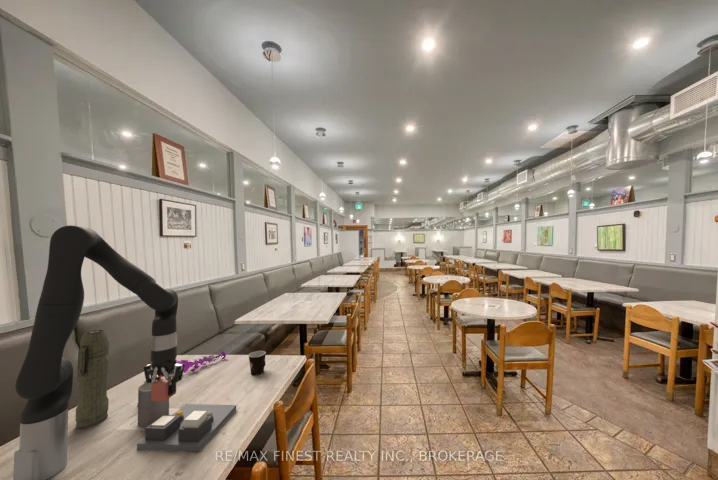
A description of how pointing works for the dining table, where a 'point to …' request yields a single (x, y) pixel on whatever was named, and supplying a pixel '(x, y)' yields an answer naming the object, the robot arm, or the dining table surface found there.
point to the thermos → (92, 379)
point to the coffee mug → (257, 362)
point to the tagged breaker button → (163, 421)
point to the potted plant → (201, 361)
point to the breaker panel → (186, 429)
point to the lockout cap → (160, 390)
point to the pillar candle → (149, 406)
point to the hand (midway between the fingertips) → (164, 394)
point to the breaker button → (195, 419)
